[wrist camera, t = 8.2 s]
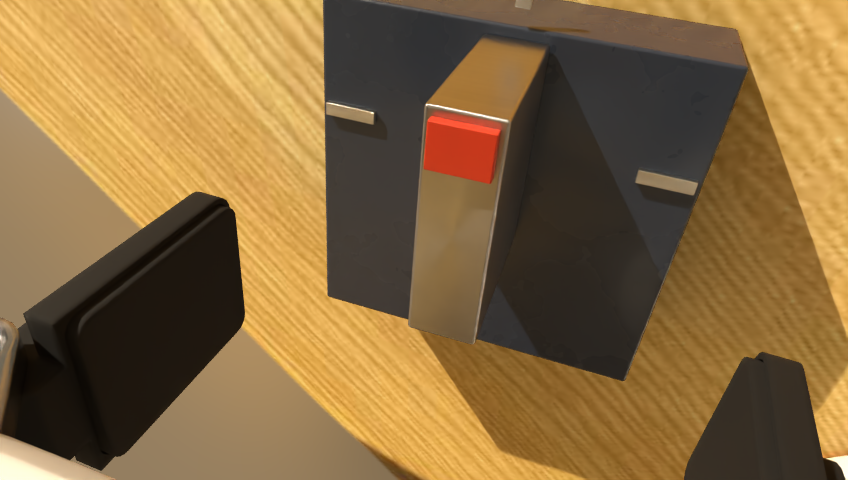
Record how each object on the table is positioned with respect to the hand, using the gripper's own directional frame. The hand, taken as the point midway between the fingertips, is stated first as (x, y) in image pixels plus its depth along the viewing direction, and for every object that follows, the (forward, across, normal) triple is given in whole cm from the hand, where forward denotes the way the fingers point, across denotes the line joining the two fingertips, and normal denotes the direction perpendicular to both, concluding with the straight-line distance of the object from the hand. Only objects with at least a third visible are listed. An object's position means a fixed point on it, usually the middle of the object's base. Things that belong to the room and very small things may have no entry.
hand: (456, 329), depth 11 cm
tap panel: (+9, +1, +1) cm, 10 cm away
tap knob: (+6, +1, -1) cm, 6 cm away
